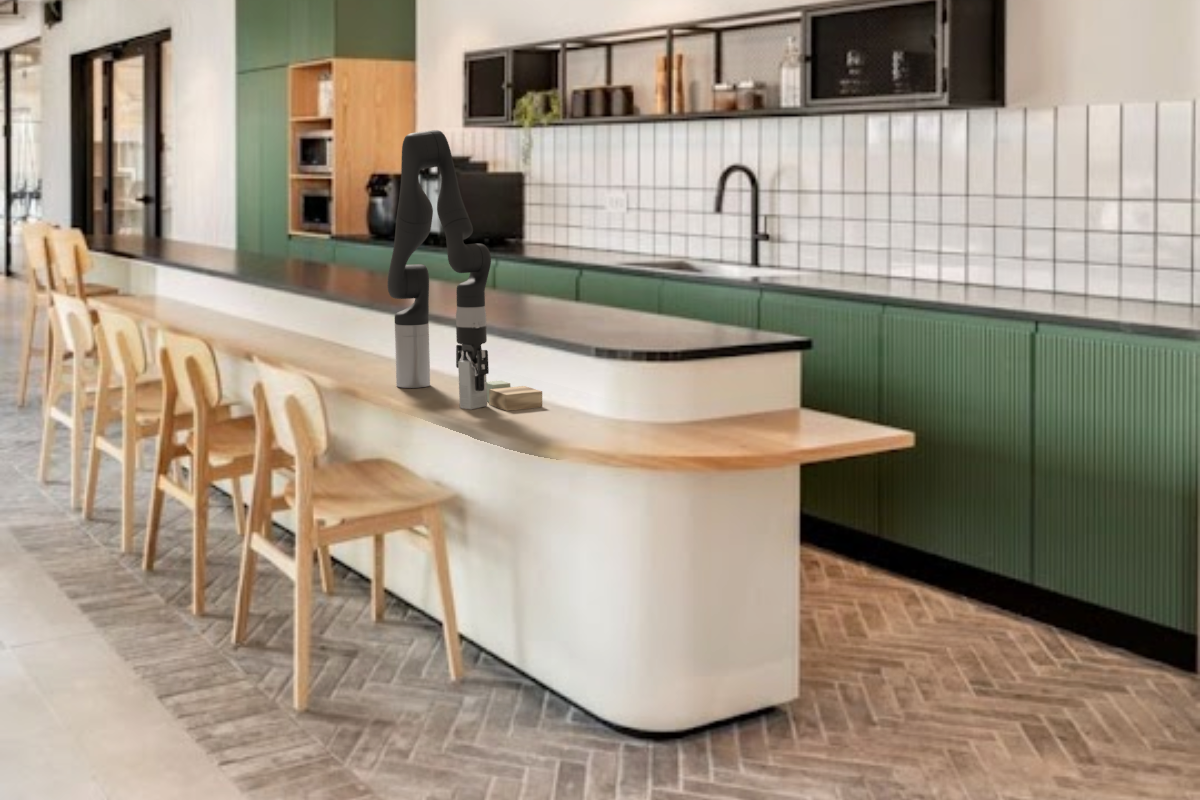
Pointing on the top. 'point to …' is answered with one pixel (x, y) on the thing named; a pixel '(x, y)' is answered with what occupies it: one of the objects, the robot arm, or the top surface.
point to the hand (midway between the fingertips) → (472, 388)
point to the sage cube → (496, 386)
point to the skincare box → (470, 387)
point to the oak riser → (515, 398)
